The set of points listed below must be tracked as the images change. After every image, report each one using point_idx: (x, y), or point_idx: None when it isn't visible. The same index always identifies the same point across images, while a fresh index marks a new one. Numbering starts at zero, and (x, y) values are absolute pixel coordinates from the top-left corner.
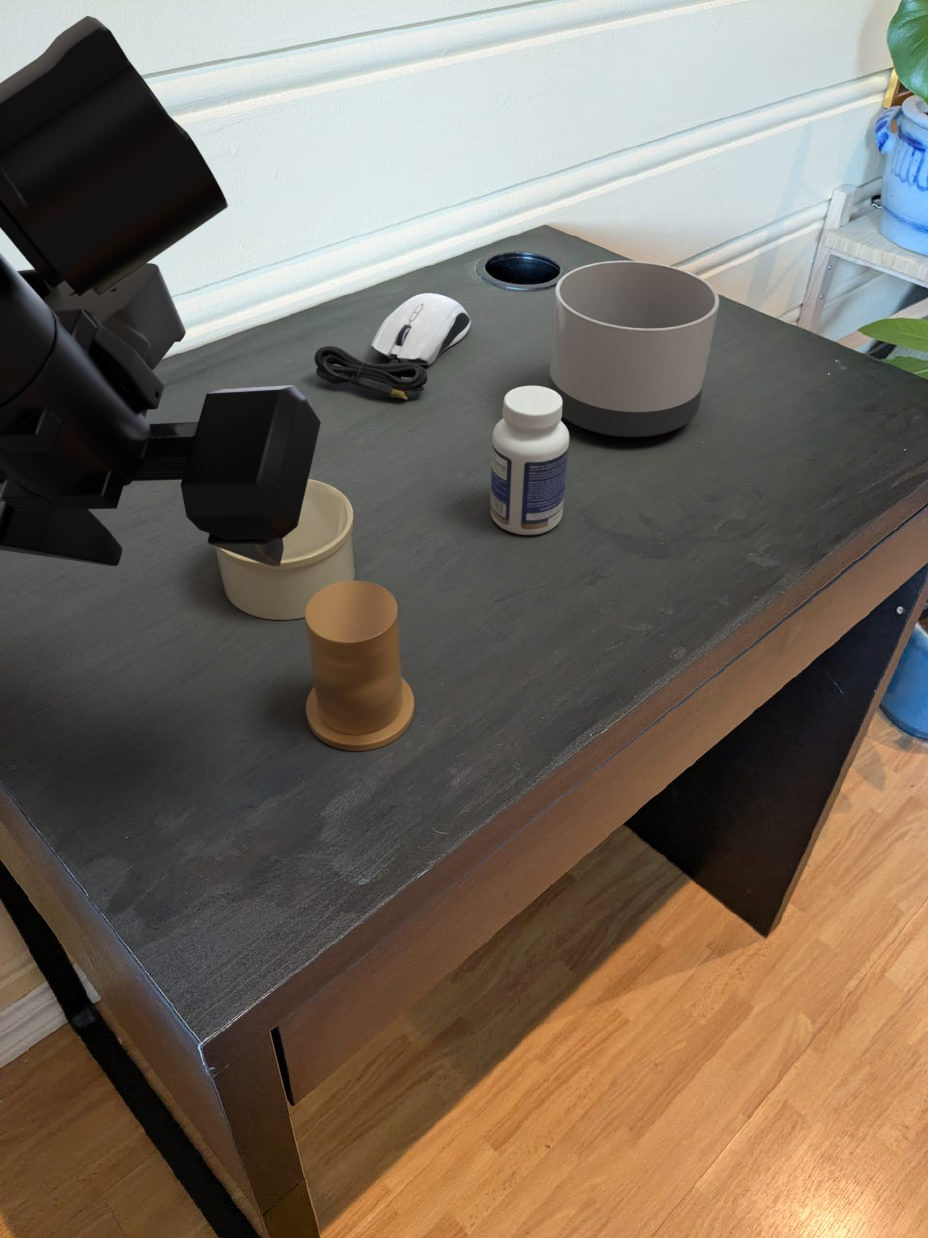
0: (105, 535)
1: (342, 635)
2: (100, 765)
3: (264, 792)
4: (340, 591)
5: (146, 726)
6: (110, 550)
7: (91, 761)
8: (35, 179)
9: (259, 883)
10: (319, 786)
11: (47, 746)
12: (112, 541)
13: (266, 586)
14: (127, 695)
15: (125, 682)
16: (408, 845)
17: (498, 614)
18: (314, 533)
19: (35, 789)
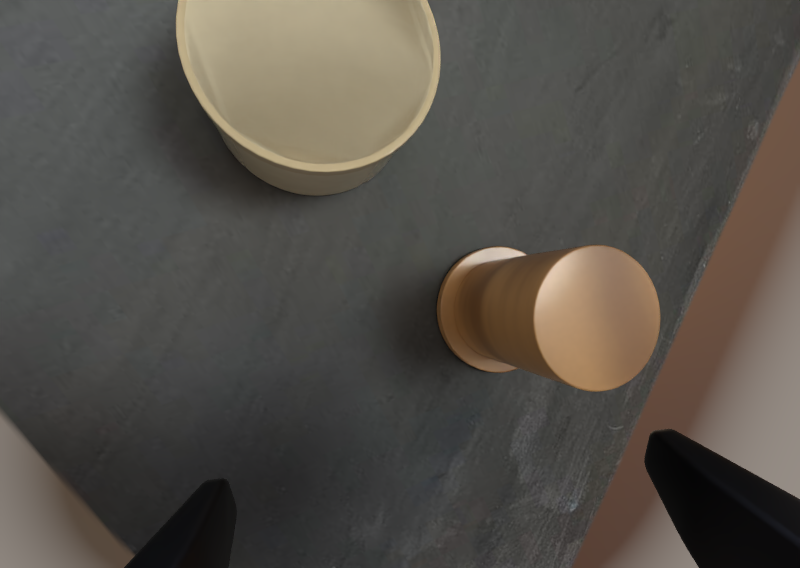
0: (202, 556)
1: (608, 376)
2: (243, 498)
3: (445, 453)
4: (569, 281)
5: (264, 422)
6: (221, 538)
7: None
8: None
9: (488, 552)
10: (494, 423)
11: (153, 501)
12: (212, 520)
13: (335, 180)
14: (208, 385)
15: (191, 365)
16: (595, 453)
17: (584, 113)
18: (391, 74)
19: None
